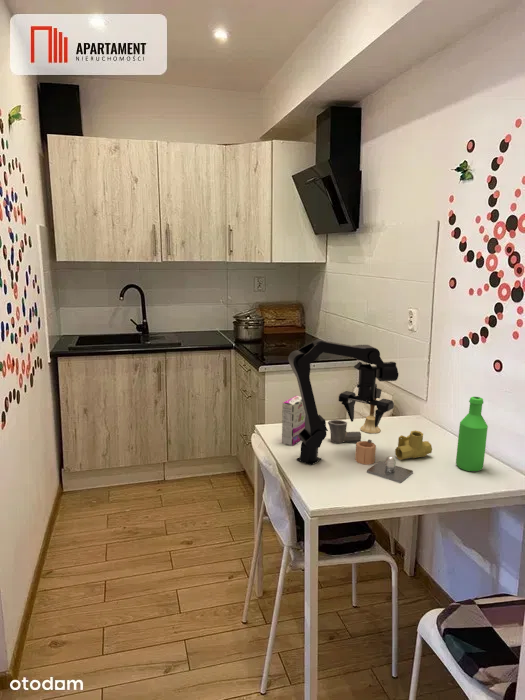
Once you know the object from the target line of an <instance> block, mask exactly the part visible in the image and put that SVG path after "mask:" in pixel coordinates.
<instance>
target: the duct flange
mask: <svg viewBox="0 0 525 700" xmlns="http://www.w3.org/2000/svg"><path fill="white" fill-rule="evenodd" d="M366 473H367V474H370V475H374V476H377V477H379V478H384V479H386V480H389V481H393V482H396V483H399V484H401V483H402V482H404V481H405V480H406V479H407V478H409V477H410V476H411V475H412V474H413V473H414V470H413V469H408V468H404V467H401V466H398V465H396V458H395V457H394V456H393V455H389V456H386V460H385V461H381V460H380V461H378V462H377V463H375V464H372V466H371V467H369V468H367V469H366ZM408 476H409V477H408Z"/></svg>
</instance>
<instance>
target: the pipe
mask: <svg viewBox="0 0 525 700" xmlns="http://www.w3.org/2000/svg"><path fill="white" fill-rule="evenodd" d="M327 424H328V426H329V431H330V441H331V442H332V443H336V444H339V443H346V442H347V443H348V442H349V443H350V442H359V441H362V432H360V431H347V428H348V427H347V426H348V422H347V421H345V420H341V419H332V420H328V421H327Z"/></svg>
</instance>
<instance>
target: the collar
mask: <svg viewBox="0 0 525 700" xmlns="http://www.w3.org/2000/svg"><path fill="white" fill-rule="evenodd" d="M376 450H377V445H376V444H375V443H374V442H373V441H372V439H368V440H361V441H356V442H355V453H354V454H355V455H354V460H355V462H357V463H358V464H362V465H374V463H375V461H376Z"/></svg>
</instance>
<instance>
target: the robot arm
mask: <svg viewBox="0 0 525 700" xmlns="http://www.w3.org/2000/svg"><path fill="white" fill-rule="evenodd" d="M322 354H330V355H336V356H341V357H342V356H343V357H349V358H352V359H353V358H354V359H356V360H359V361H358V362H357V363H356V364H355V365H354V366H353V368H354V369H355V370H358V371H359V372H358V373H359V375H358V383H357V385H356V388H357V394H356V393H355V392H353V391H349V390H346V391H343V392H341V393H339V394H338V400H337V401H338V402H341V405H343V406H344V408H345V410H346V412H347V415H348V418H349V420H350V422H354V420H355V419H354V418H355V404H356V402H357V403H361V404H366V405H369V406H370V405H375V406H376V409H375V411H374V417H375V427H377V426H378V427H379V425H380V422H381V419H382V417H383V416H384V414H385V413H387V412H389V411H391V410H393V409H394V408H395V407H394V406H395V403H394V401H393V400H392V399H389V398H381V397H382V396H381V395H382V392H383V391H382V389H381V388H378V384H377V383H376V381H377V380H378V381H379V382H396V381H397V380H398V378H399V371H398V367H397V363H396V361H386V362H385V361H383V359H382V357H381V353H380V350H379V349H378V348H376V347H374V346H371V345H370V344H355V345H353V344H352V345H351V344H343V343H340V342H333V341H327V340H323V339H320V338H317V339H314V340H313V341H311V342H310V343H308V344H306V345H304V346H301V348H299V349H298V350H297V349H296V350H293V351H291V352H290V353H289V355H288V356H287V357H288V358H287V360H288V363H289V366H290V368H291V370H292V372H293V374H294V375H295V377H296V381H297V385H298V388H299V392H300V393H299V394H300V396H301V398H302V402H303V406H304V410H305V428H304V429H303V430H302V431H301V432H300V433H299V438H300V441H301V444H300V456H299V457H297V458H296V461H298V462H301V463H304V464H307V465H310V466H311V465H315V464H316V463H319V462H320V461H322V457H319V448H320V447H321V446H322V443H323V440H325V439H326V437H327V432H328V431H329V430H328V428H327V422H326V421H327V420H326V419H325V418H324V417H323V416H322V415H320V414H319V413H318V409H317V404H316V399H315V396H314V391H313V387H312V383H311V378H310V375H311V364H312V363H314V362H315V361H316V360H317V359H318V358H319V357H320V355H322ZM363 362H364V363H363ZM380 398H381V399H380ZM374 399H376V400H374ZM377 399H379V400H377Z"/></svg>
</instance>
